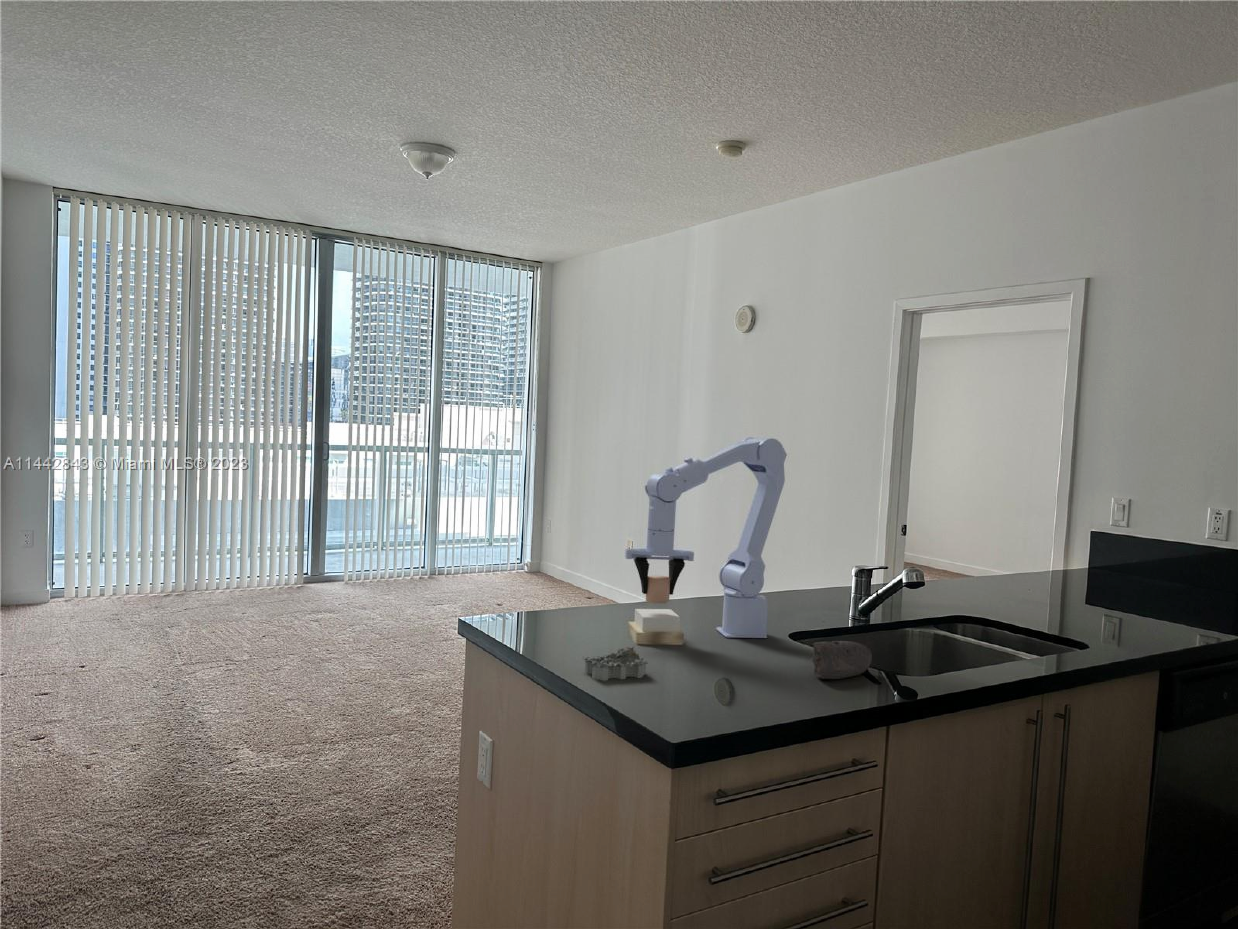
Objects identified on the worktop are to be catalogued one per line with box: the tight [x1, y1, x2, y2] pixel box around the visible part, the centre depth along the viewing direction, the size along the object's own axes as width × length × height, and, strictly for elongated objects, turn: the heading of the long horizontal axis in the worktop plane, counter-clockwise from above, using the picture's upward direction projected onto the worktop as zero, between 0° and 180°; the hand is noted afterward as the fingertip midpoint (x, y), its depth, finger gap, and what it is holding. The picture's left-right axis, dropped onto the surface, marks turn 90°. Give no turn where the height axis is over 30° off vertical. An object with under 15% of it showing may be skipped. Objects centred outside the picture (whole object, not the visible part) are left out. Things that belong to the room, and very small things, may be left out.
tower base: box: [627, 621, 685, 646], centre depth 176 cm, size 10×10×3 cm
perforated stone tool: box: [811, 640, 873, 680], centre depth 154 cm, size 15×5×7 cm, turn 119°
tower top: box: [633, 608, 681, 632], centre depth 176 cm, size 8×8×3 cm
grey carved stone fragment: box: [582, 646, 650, 682], centre depth 147 cm, size 11×8×4 cm
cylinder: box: [645, 574, 670, 604], centre depth 175 cm, size 5×5×5 cm
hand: (657, 593), depth 175 cm, fingers closed on cylinder, 5 cm apart
